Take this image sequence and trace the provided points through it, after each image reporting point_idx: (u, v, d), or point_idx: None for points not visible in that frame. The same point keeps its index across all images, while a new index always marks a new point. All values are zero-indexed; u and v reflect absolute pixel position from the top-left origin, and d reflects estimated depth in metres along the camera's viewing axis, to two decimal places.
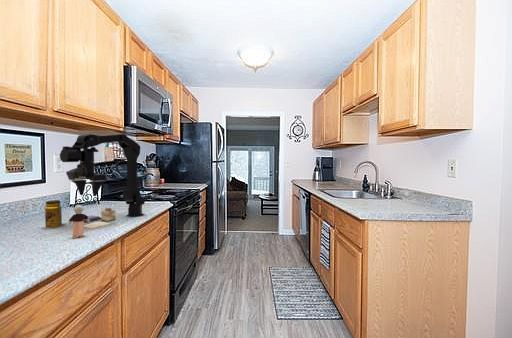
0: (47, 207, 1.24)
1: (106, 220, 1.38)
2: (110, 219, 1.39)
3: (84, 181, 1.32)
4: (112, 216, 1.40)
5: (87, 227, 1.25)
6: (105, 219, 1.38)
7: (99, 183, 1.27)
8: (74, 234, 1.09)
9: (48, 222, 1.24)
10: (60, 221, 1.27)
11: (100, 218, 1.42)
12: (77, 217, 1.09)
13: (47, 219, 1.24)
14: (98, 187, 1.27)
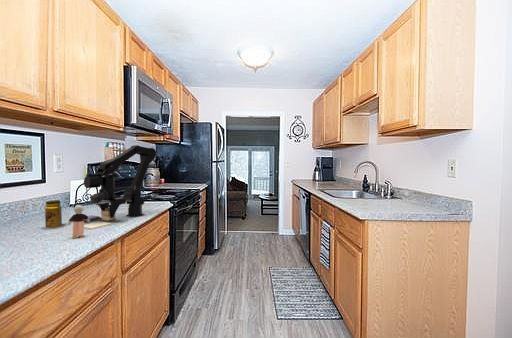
0: (47, 207, 1.24)
1: (106, 220, 1.38)
2: (110, 219, 1.39)
3: (107, 204, 1.43)
4: None
5: (87, 227, 1.25)
6: (105, 219, 1.38)
7: (116, 206, 1.40)
8: (74, 234, 1.09)
9: (48, 222, 1.24)
10: (60, 221, 1.27)
11: (100, 218, 1.42)
12: (77, 217, 1.09)
13: (47, 219, 1.24)
14: (115, 209, 1.40)
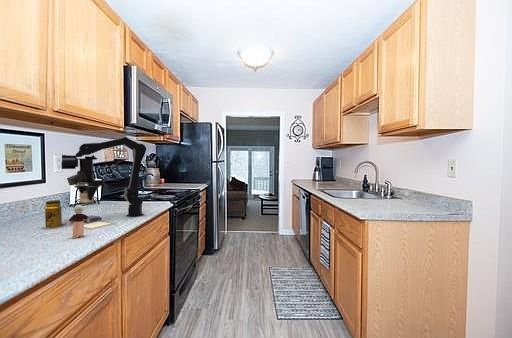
0: (47, 207, 1.24)
1: (84, 202, 1.37)
2: (88, 201, 1.38)
3: (86, 186, 1.42)
4: None
5: (87, 227, 1.25)
6: (83, 201, 1.37)
7: (94, 188, 1.39)
8: (74, 234, 1.09)
9: (48, 222, 1.24)
10: (60, 221, 1.27)
11: (100, 218, 1.42)
12: (77, 217, 1.09)
13: (47, 219, 1.24)
14: (93, 192, 1.39)
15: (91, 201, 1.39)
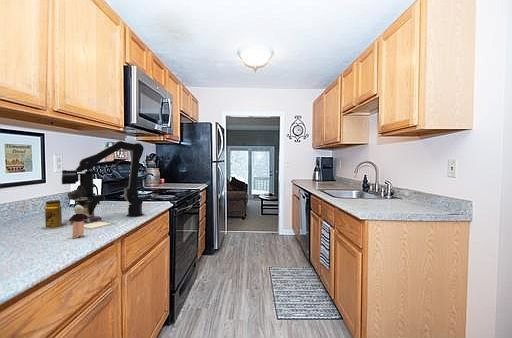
0: (47, 207, 1.24)
1: None
2: (88, 216, 1.38)
3: (86, 201, 1.42)
4: None
5: (87, 227, 1.25)
6: None
7: (94, 203, 1.39)
8: (74, 234, 1.09)
9: (48, 222, 1.24)
10: (60, 221, 1.27)
11: (100, 218, 1.42)
12: (77, 217, 1.09)
13: (47, 219, 1.24)
14: (93, 206, 1.39)
15: (91, 215, 1.39)
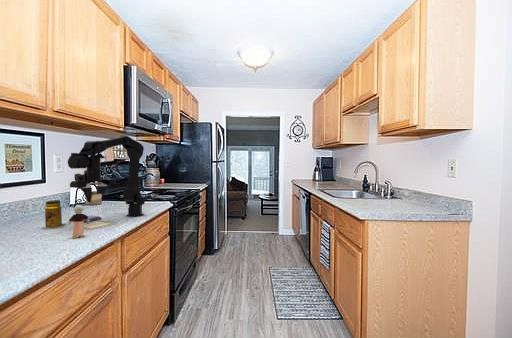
0: (47, 207, 1.24)
1: None
2: (88, 203, 1.28)
3: (102, 187, 1.31)
4: None
5: (87, 227, 1.25)
6: None
7: (87, 190, 1.25)
8: (74, 234, 1.09)
9: (48, 222, 1.24)
10: (60, 221, 1.27)
11: (100, 218, 1.42)
12: (77, 217, 1.09)
13: (47, 219, 1.24)
14: (87, 194, 1.26)
15: (90, 203, 1.27)
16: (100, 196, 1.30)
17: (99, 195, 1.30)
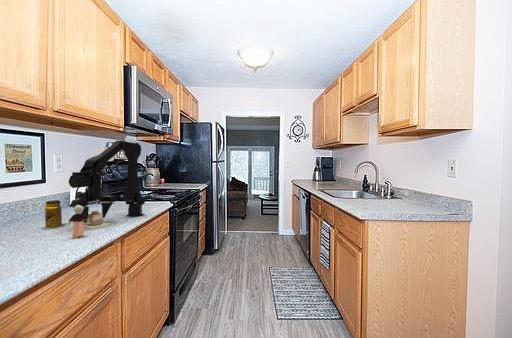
0: (47, 207, 1.24)
1: None
2: (89, 223, 1.28)
3: (107, 204, 1.33)
4: (91, 220, 1.27)
5: (87, 227, 1.25)
6: None
7: (84, 209, 1.24)
8: (74, 234, 1.09)
9: (48, 222, 1.24)
10: (60, 221, 1.27)
11: None
12: (77, 217, 1.09)
13: (47, 219, 1.24)
14: (84, 213, 1.24)
15: (91, 224, 1.27)
16: (101, 216, 1.30)
17: (100, 215, 1.30)
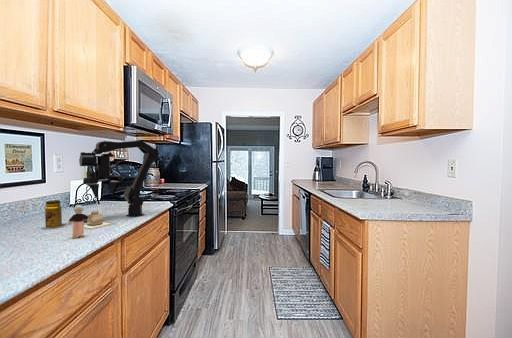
0: (47, 207, 1.24)
1: None
2: (89, 223, 1.28)
3: (115, 183, 1.46)
4: (91, 220, 1.27)
5: (87, 227, 1.25)
6: None
7: (94, 186, 1.36)
8: (74, 234, 1.09)
9: (48, 222, 1.24)
10: (60, 222, 1.27)
11: None
12: (77, 217, 1.09)
13: (47, 219, 1.24)
14: (95, 190, 1.36)
15: (91, 224, 1.27)
16: (101, 216, 1.30)
17: (100, 215, 1.30)
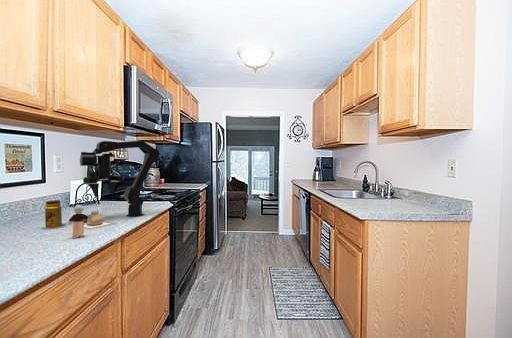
0: (47, 207, 1.24)
1: None
2: (89, 223, 1.28)
3: (115, 183, 1.46)
4: (91, 220, 1.27)
5: (87, 227, 1.25)
6: None
7: (94, 186, 1.36)
8: (74, 234, 1.09)
9: (48, 222, 1.24)
10: (60, 222, 1.27)
11: None
12: (77, 217, 1.09)
13: (47, 219, 1.24)
14: (94, 189, 1.37)
15: (91, 224, 1.27)
16: (101, 216, 1.30)
17: (100, 215, 1.30)
